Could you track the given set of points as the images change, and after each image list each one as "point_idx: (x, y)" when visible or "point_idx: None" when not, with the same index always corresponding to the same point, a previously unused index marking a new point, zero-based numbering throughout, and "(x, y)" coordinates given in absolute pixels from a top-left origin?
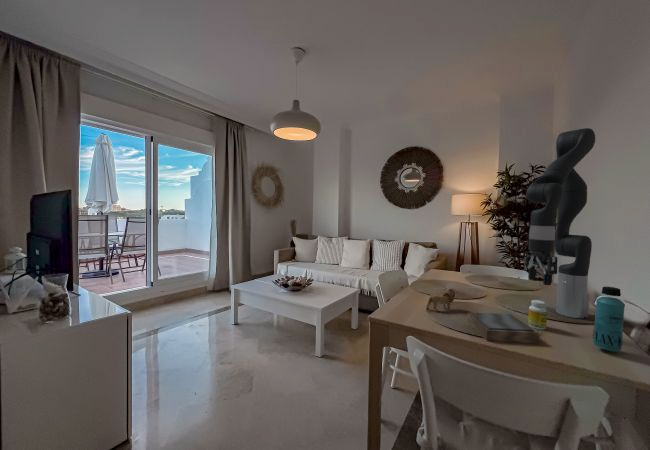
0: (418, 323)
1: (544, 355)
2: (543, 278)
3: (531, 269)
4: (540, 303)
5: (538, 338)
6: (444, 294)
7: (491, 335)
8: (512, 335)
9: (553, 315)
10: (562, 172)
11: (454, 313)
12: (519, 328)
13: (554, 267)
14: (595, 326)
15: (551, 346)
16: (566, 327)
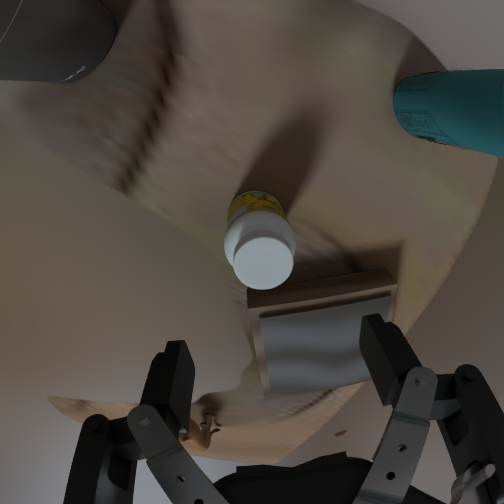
0: (294, 434)
1: (433, 278)
2: (372, 379)
3: (179, 427)
4: (292, 265)
5: (390, 274)
6: (186, 439)
7: None
8: None
9: (99, 102)
10: None
11: (208, 393)
12: None
13: (479, 418)
14: (449, 143)
15: (399, 242)
16: (231, 106)
